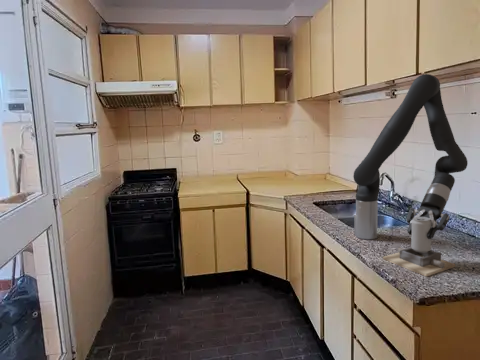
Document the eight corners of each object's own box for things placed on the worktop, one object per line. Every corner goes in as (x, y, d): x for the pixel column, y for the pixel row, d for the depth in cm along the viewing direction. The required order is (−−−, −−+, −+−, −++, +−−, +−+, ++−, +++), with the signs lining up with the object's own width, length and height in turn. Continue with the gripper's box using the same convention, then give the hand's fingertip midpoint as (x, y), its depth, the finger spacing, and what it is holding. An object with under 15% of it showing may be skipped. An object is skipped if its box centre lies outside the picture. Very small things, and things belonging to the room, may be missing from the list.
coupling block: (383, 259, 133) (383, 249, 132) (410, 251, 139) (411, 241, 139) (426, 276, 117) (426, 265, 116) (455, 266, 123) (455, 256, 123)
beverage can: (408, 250, 128) (408, 219, 126) (415, 245, 132) (415, 215, 130) (427, 254, 123) (427, 221, 121) (433, 249, 128) (434, 217, 126)
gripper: (413, 190, 135) (395, 226, 130) (453, 194, 123) (435, 234, 118) (420, 201, 138) (403, 236, 134) (459, 206, 127) (443, 246, 122)
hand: (418, 235), depth 126 cm, fingers closed on beverage can, 6 cm apart
